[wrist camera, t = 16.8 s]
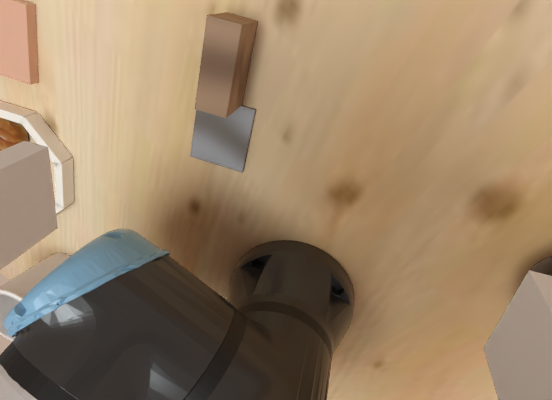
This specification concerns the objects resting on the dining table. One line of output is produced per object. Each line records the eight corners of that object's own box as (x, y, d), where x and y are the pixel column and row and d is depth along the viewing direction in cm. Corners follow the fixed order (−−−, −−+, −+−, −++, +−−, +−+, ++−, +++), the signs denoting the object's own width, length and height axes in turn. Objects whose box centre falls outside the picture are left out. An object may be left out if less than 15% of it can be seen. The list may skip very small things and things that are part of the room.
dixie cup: (28, 255, 58) (-34, 301, 49) (67, 236, 55) (8, 283, 46) (65, 299, 60) (12, 351, 52) (104, 284, 57) (55, 337, 48)
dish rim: (74, 229, 54) (64, 237, 52) (-27, 196, 55) (-40, 202, 53) (72, 122, 46) (60, 127, 45) (-45, 87, 48) (-61, 90, 46)
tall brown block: (243, 170, 44) (228, 190, 40) (192, 154, 45) (171, 172, 41) (273, 25, 37) (259, 29, 33) (211, 8, 38) (189, 10, 33)
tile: (38, 4, 42) (41, 81, 45) (-23, -15, 42) (-15, 62, 46) (25, 4, 40) (30, 84, 44) (-38, -16, 41) (-28, 65, 44)
